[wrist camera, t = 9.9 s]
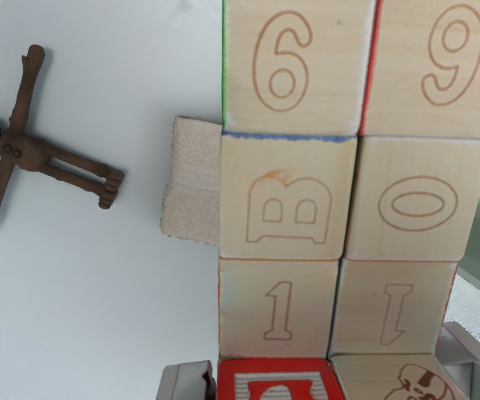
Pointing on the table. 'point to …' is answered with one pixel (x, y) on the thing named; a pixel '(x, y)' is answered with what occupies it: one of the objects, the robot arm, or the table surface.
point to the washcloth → (193, 182)
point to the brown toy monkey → (46, 145)
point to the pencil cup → (472, 254)
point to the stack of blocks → (344, 194)
